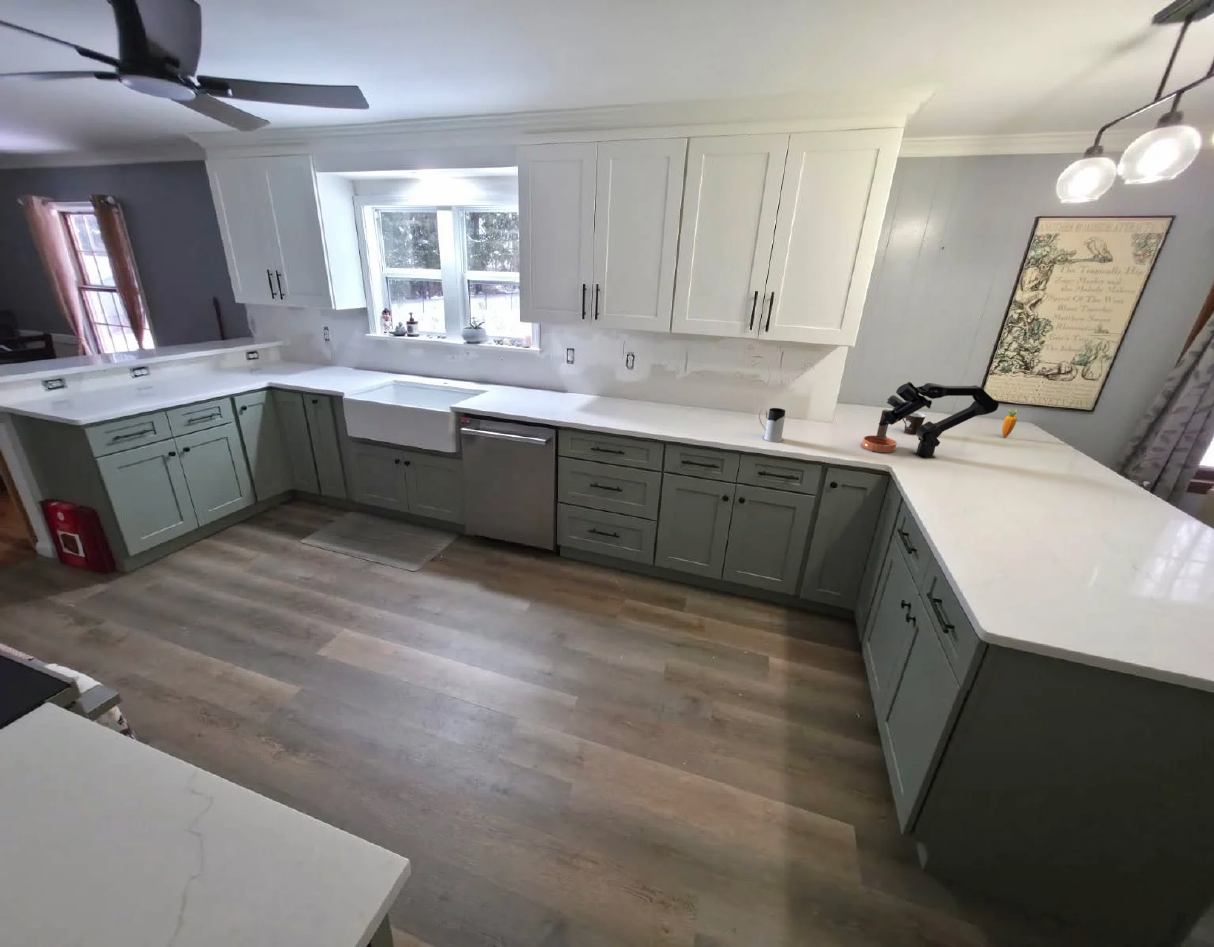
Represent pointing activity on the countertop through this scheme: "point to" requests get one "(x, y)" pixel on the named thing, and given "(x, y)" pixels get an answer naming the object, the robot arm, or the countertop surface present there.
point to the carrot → (1009, 423)
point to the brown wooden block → (882, 428)
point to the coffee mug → (913, 423)
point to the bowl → (879, 444)
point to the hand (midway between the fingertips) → (880, 423)
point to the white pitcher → (774, 424)
